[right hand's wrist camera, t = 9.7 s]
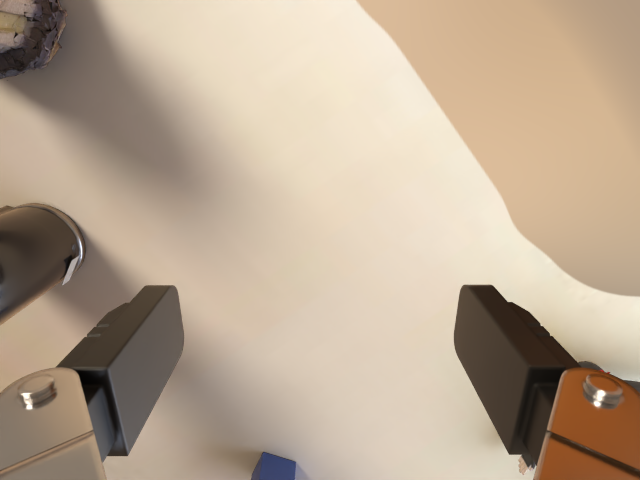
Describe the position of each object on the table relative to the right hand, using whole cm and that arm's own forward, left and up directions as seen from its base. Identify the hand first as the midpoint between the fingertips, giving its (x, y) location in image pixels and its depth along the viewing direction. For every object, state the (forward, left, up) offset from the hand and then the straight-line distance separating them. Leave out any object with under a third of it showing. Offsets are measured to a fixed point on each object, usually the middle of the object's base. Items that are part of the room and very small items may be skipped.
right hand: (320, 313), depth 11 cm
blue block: (+9, -46, -33) cm, 57 cm away
